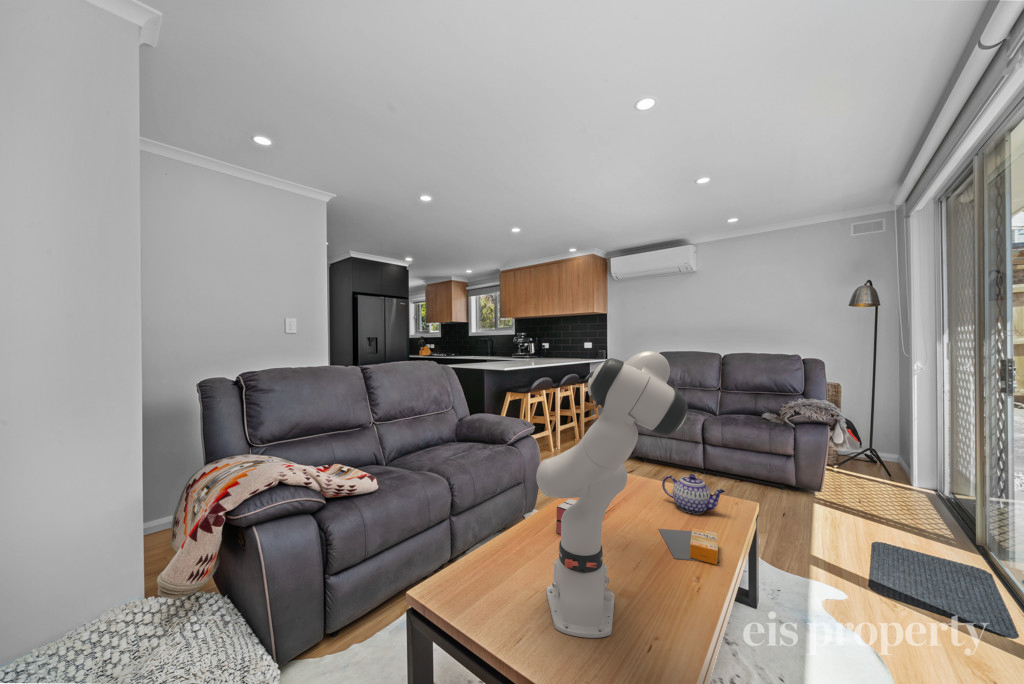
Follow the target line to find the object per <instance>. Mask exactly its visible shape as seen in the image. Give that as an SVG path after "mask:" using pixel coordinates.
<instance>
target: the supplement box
mask: <svg viewBox="0 0 1024 684" xmlns="http://www.w3.org/2000/svg"><path fill="white" fill-rule="evenodd" d="M691 531H692V535H691V542H690V558H694V559H697V560H701V561H700V562H704V563H705V562H706V563H708V564H713V565H718V563H717V559H718V556H719V555H718V553H719V550H718V549H719V548H718V547H719V545H718V544H719V542H718V540H719V536H718V535H719V534H718V533H717V532H713V531H709V530H704V529H698V528H695V527H692V530H691Z"/></svg>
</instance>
